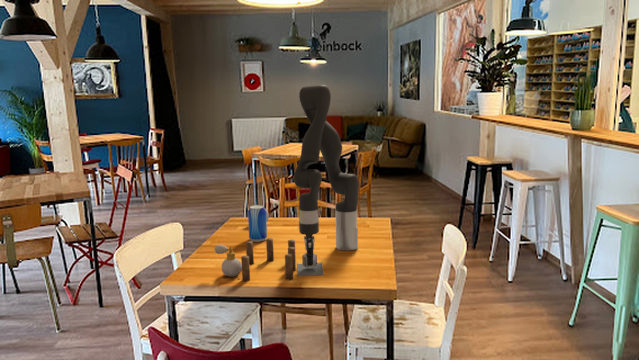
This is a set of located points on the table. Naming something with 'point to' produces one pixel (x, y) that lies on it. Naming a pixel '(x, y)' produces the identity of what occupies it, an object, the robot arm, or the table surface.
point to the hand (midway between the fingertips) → (309, 262)
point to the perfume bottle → (229, 261)
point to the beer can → (257, 223)
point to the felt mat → (309, 270)
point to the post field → (269, 259)
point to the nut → (304, 260)
